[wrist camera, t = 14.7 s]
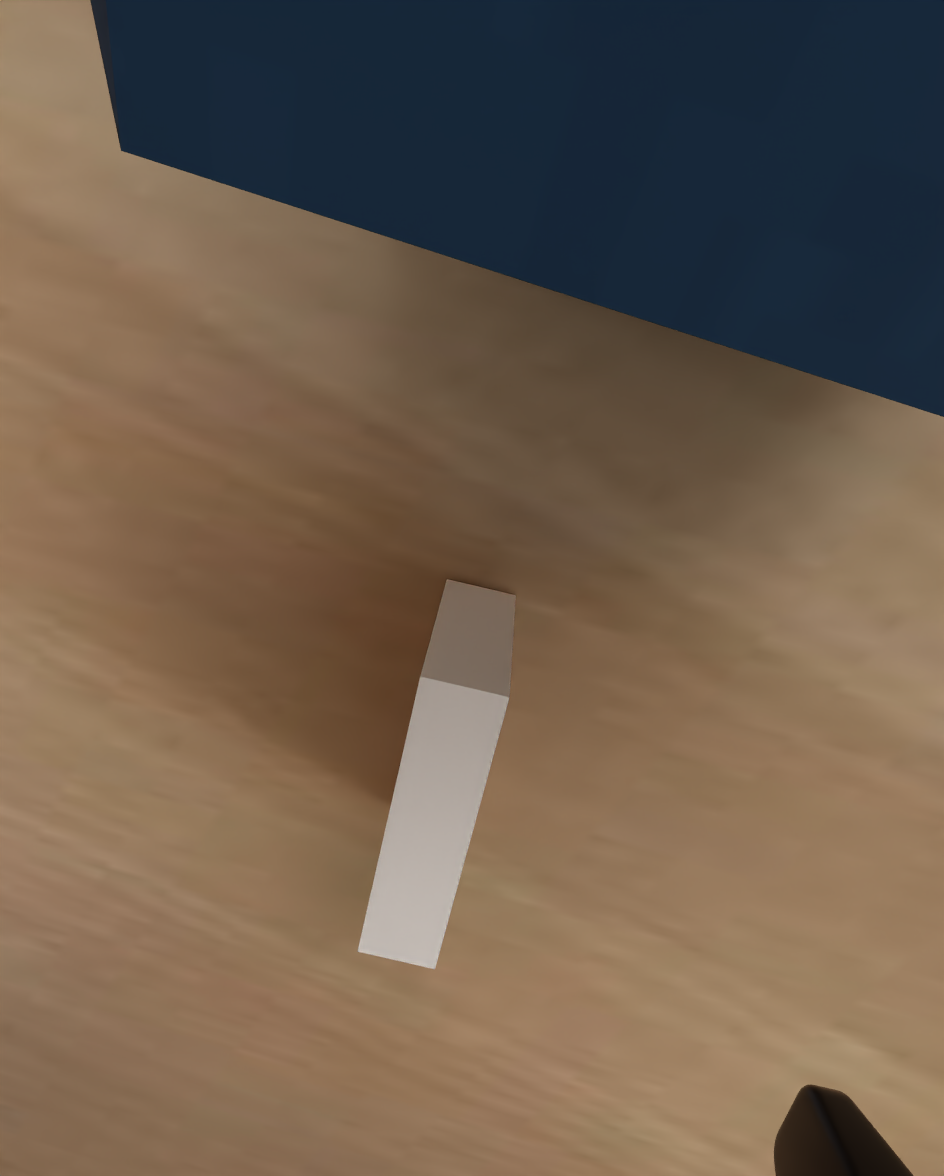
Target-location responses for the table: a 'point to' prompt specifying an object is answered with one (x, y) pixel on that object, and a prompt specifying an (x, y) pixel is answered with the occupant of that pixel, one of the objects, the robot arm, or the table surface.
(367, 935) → the eraser
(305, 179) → the radio
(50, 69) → the table surface
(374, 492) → the table surface
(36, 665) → the table surface
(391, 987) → the table surface
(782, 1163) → the robot arm
